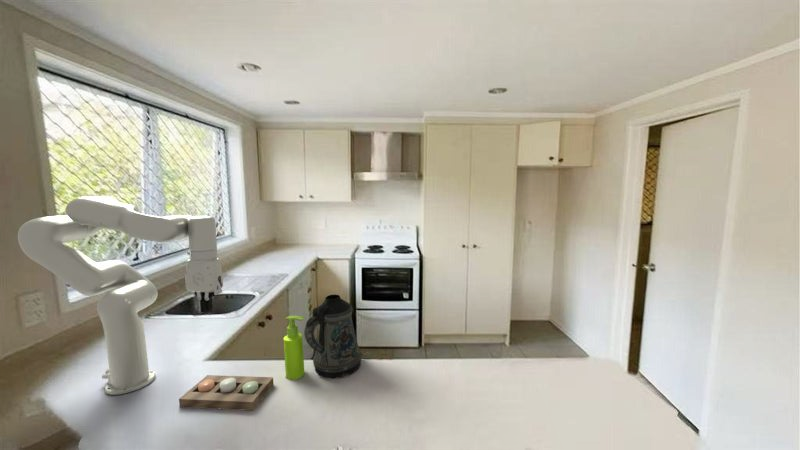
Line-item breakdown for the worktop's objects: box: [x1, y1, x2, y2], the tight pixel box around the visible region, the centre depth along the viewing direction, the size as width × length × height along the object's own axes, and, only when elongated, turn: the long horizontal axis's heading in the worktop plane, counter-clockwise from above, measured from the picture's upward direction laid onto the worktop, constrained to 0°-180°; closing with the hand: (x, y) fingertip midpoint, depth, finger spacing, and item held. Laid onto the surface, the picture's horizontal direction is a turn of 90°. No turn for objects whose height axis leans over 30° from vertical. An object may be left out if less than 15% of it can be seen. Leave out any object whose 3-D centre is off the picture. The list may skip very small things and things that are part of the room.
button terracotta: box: [198, 380, 215, 392], centre depth 98 cm, size 4×4×2 cm
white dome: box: [220, 378, 236, 393], centre depth 97 cm, size 4×4×2 cm
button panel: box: [178, 374, 274, 411], centre depth 98 cm, size 22×12×2 cm, turn 85°
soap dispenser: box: [283, 315, 305, 380], centre depth 107 cm, size 6×7×20 cm
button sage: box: [243, 381, 258, 394], centre depth 97 cm, size 4×4×2 cm
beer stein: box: [303, 294, 363, 380], centre depth 110 cm, size 16×19×25 cm
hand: (206, 310), depth 105 cm, fingers closed
